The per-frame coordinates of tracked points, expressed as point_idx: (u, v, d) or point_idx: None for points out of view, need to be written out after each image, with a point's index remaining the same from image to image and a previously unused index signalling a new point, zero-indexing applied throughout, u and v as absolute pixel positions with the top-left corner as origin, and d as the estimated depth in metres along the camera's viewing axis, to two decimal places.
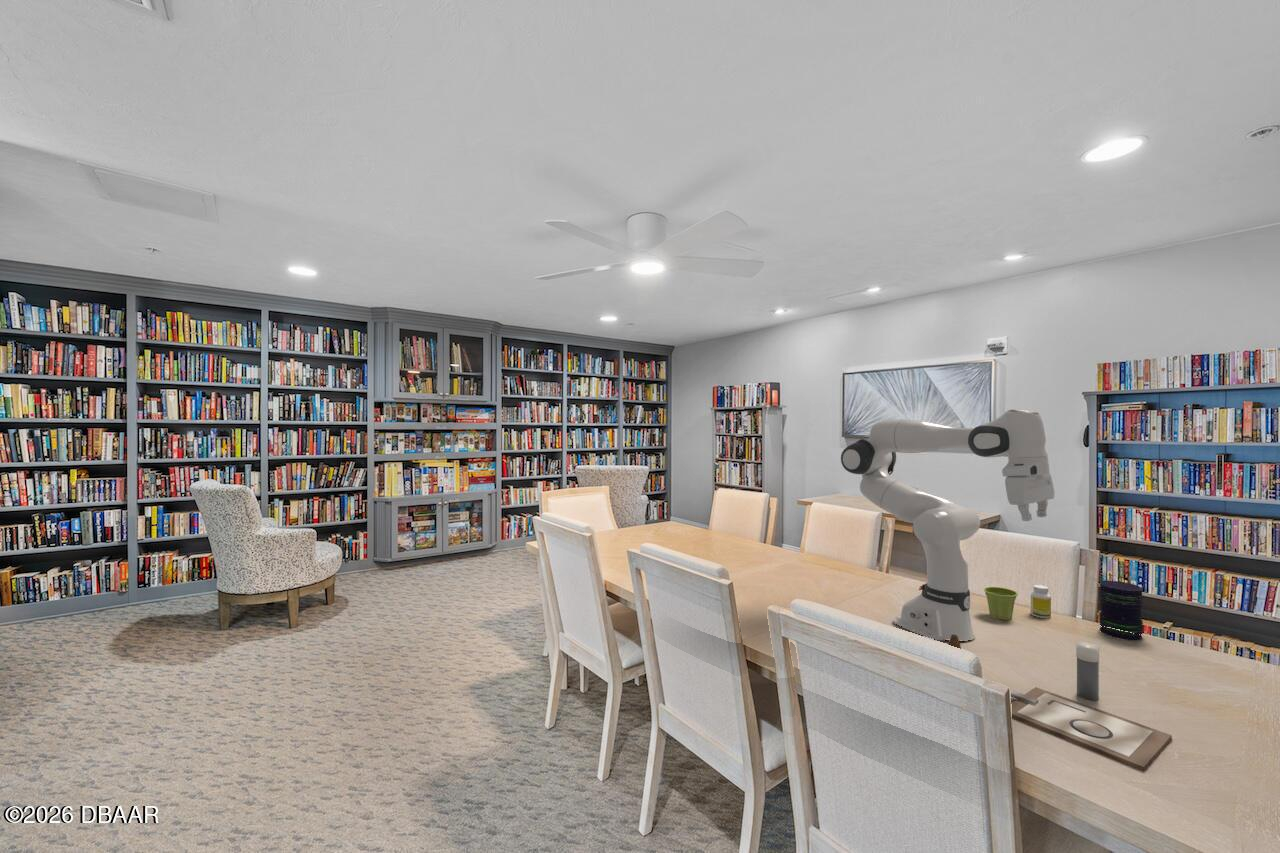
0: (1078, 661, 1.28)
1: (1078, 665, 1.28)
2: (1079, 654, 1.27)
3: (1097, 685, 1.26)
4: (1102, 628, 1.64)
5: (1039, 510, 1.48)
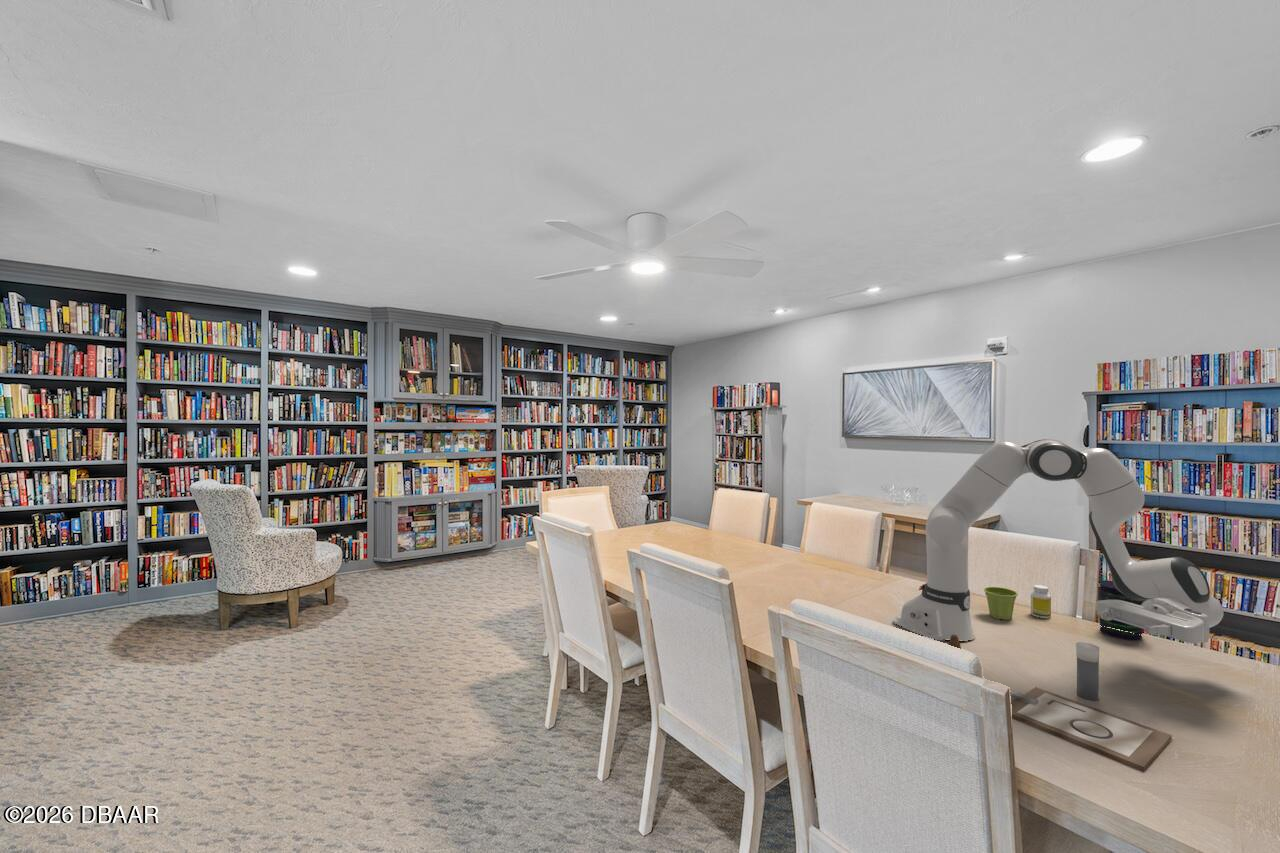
0: (1078, 661, 1.28)
1: (1078, 665, 1.28)
2: (1079, 654, 1.27)
3: (1097, 685, 1.26)
4: (1102, 628, 1.64)
5: None
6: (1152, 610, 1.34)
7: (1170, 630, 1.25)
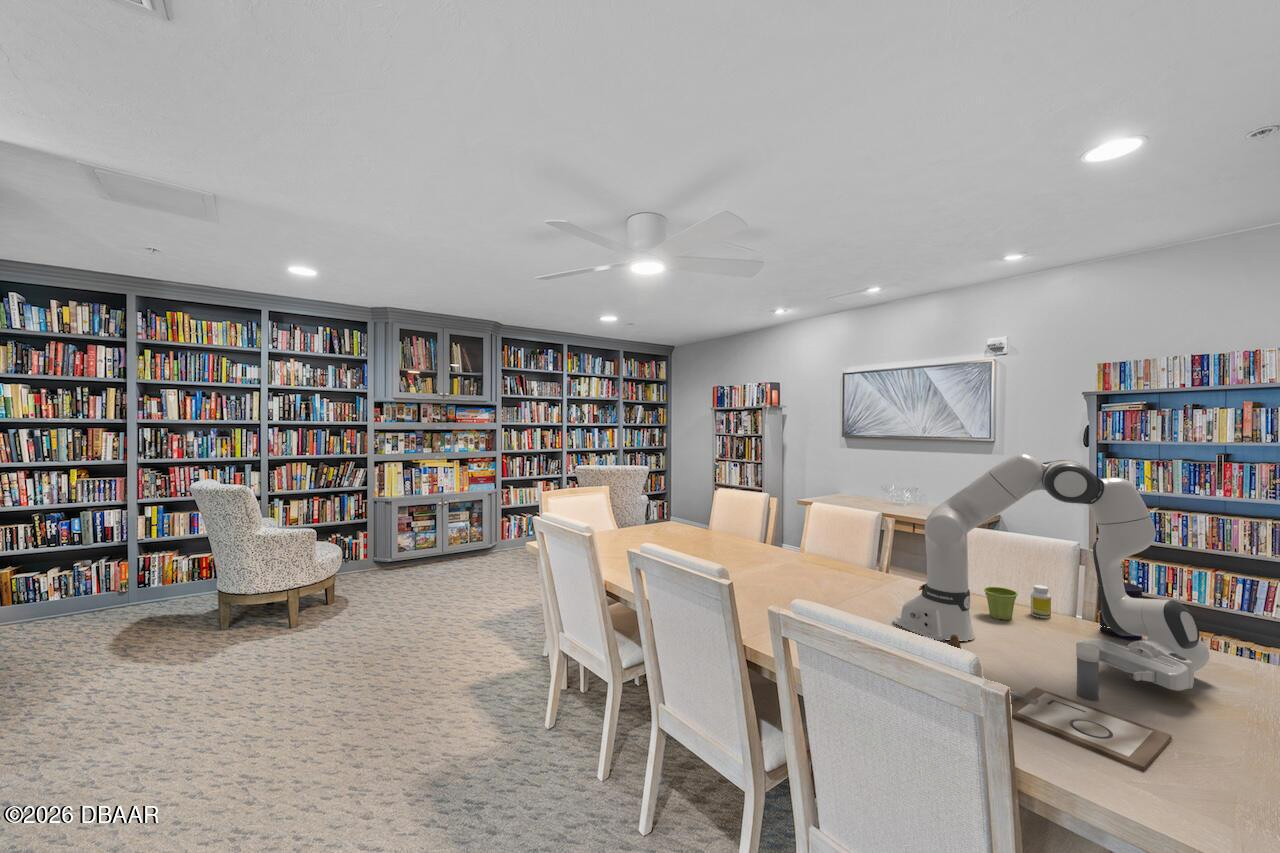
0: (1078, 661, 1.28)
1: (1078, 665, 1.28)
2: (1079, 654, 1.27)
3: (1097, 685, 1.26)
4: (1102, 628, 1.64)
5: None
6: (1137, 653, 1.33)
7: (1154, 676, 1.24)
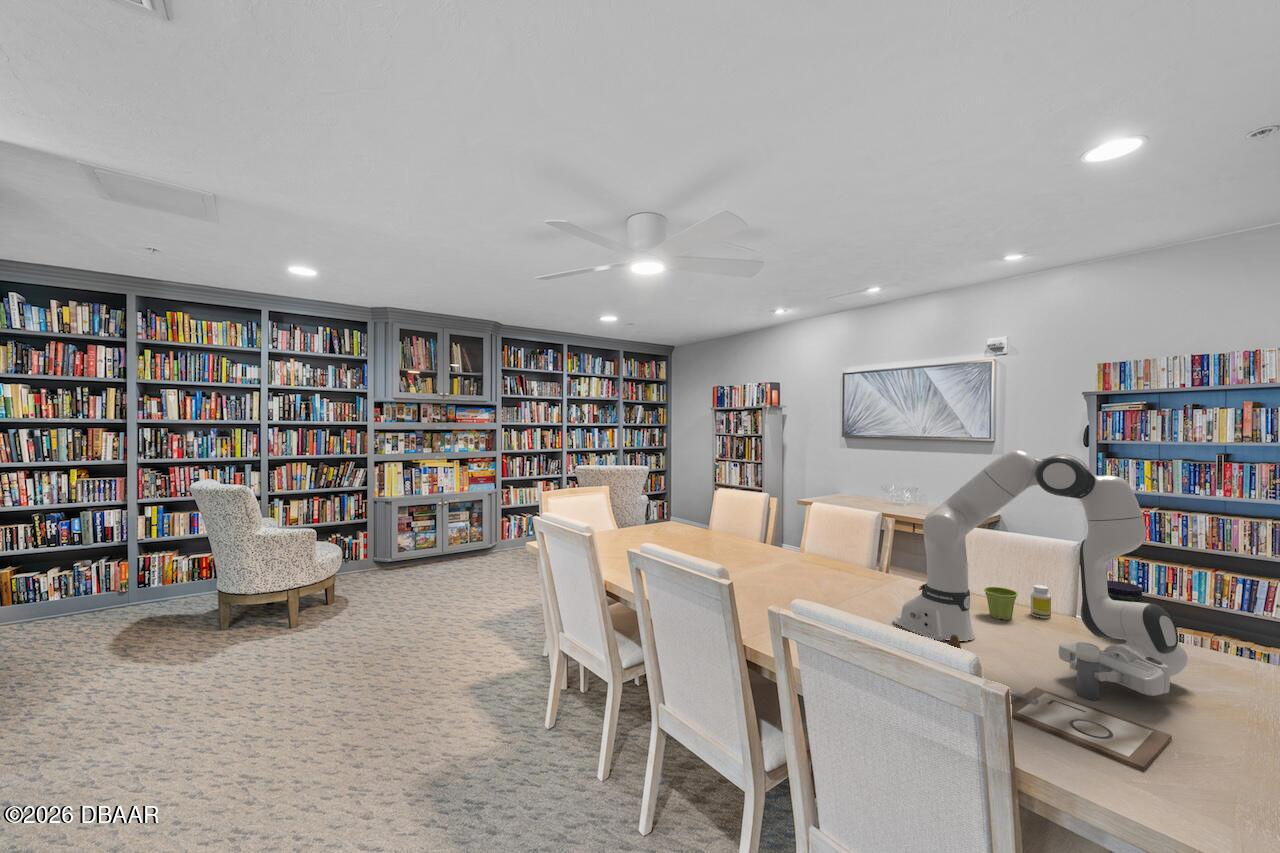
0: (1078, 661, 1.28)
1: (1078, 665, 1.28)
2: (1079, 654, 1.27)
3: (1097, 685, 1.26)
4: None
5: None
6: (1114, 657, 1.30)
7: (1119, 677, 1.24)
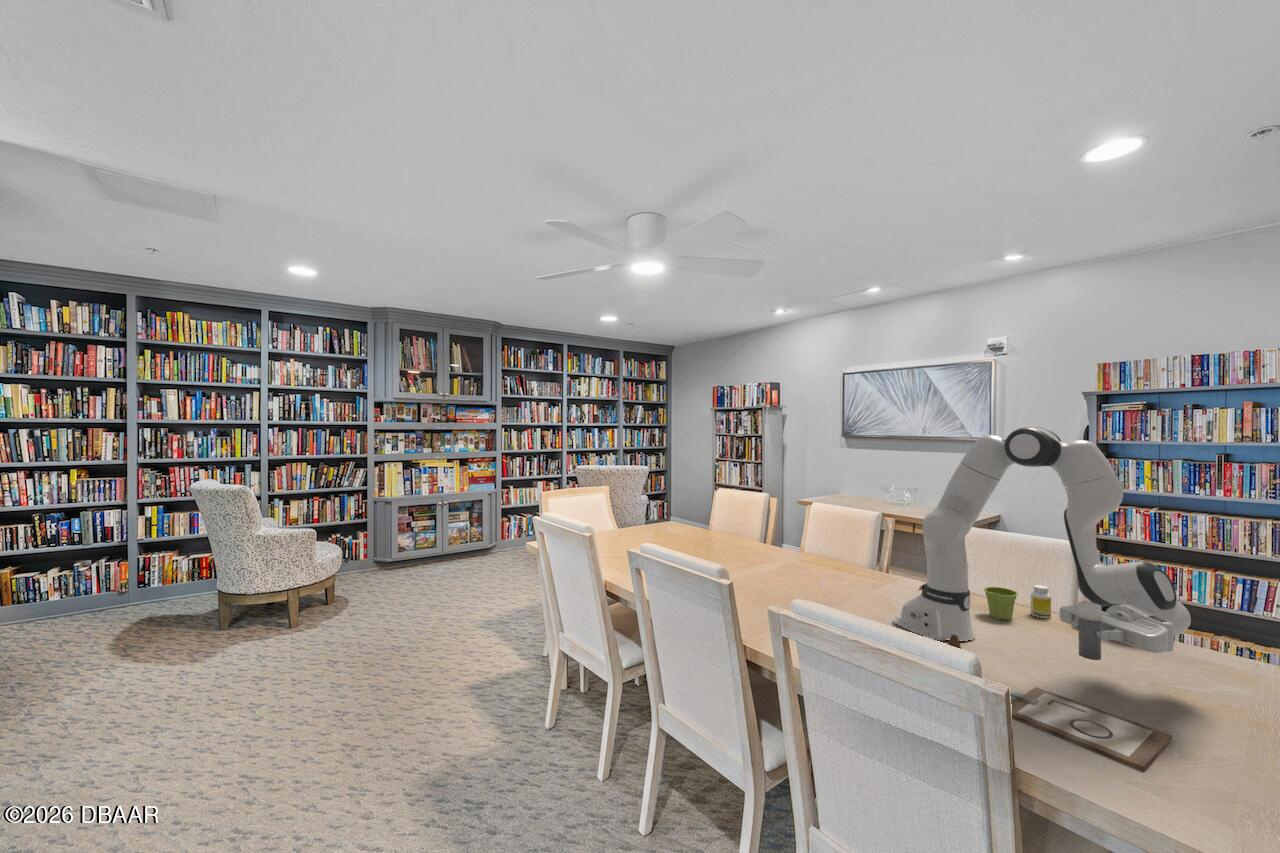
0: (1080, 620, 1.24)
1: (1080, 624, 1.24)
2: (1081, 613, 1.24)
3: (1099, 644, 1.22)
4: None
5: None
6: (1116, 617, 1.27)
7: (1122, 635, 1.21)
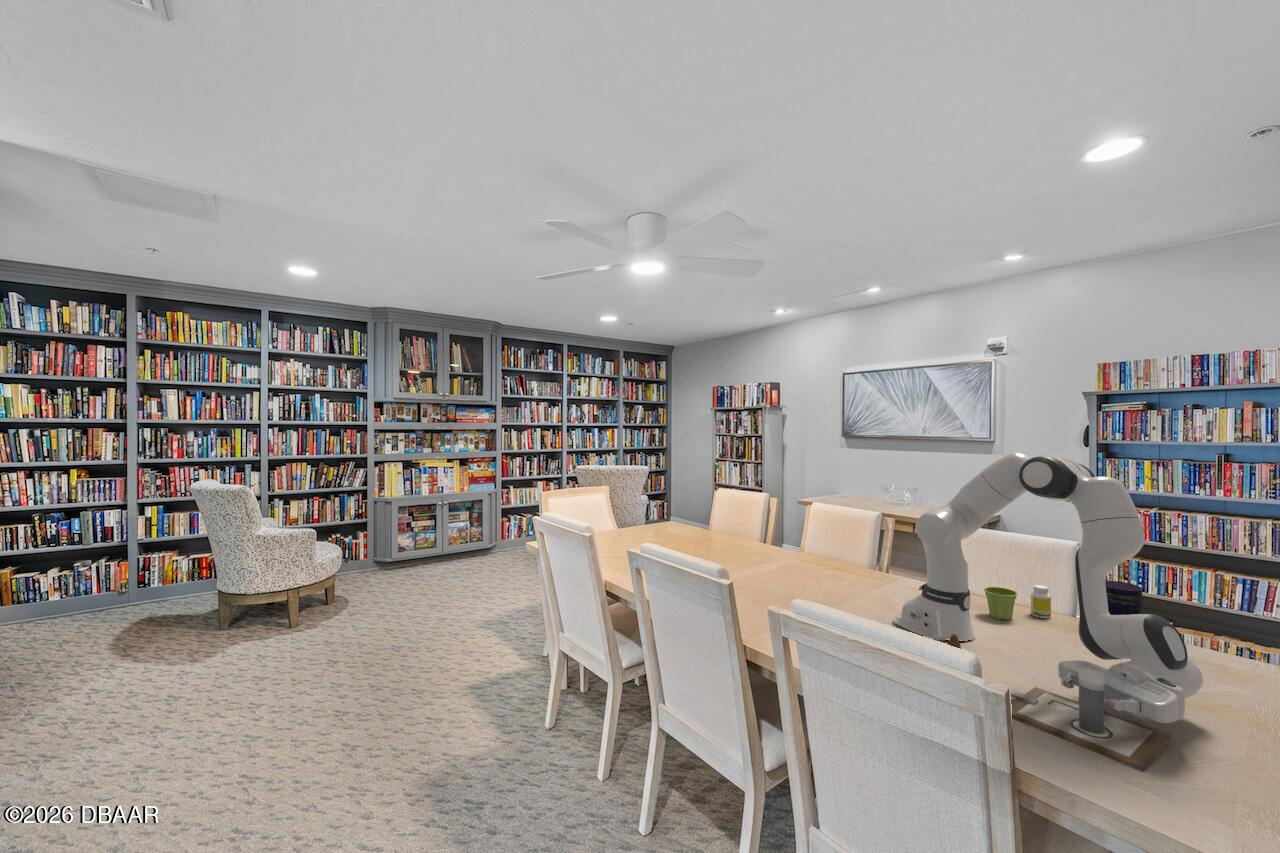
0: (1080, 689, 1.13)
1: (1080, 693, 1.13)
2: (1082, 681, 1.12)
3: (1102, 717, 1.11)
4: None
5: None
6: (1120, 677, 1.15)
7: (1139, 706, 1.07)
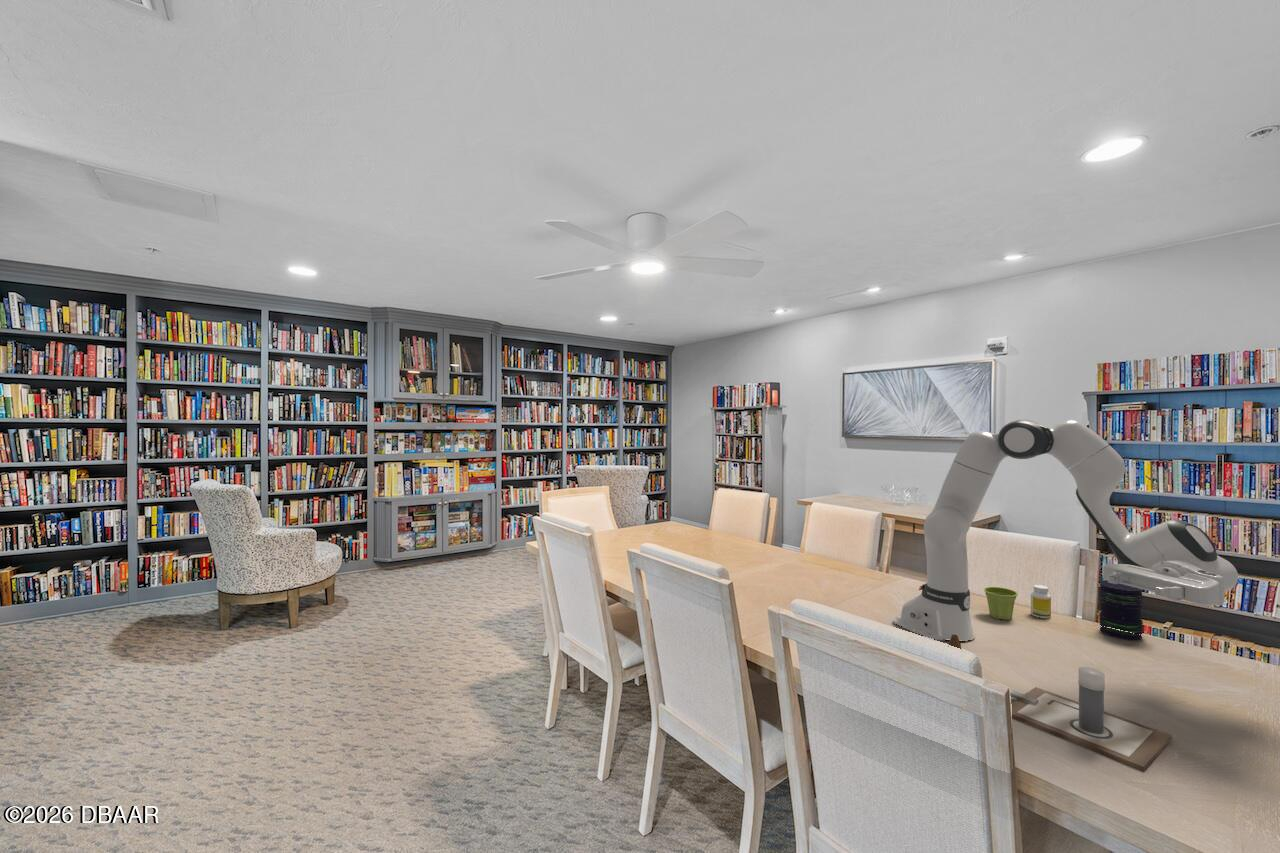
0: (1080, 689, 1.13)
1: (1080, 693, 1.13)
2: (1082, 681, 1.12)
3: (1102, 716, 1.11)
4: (1102, 628, 1.64)
5: None
6: (1163, 573, 1.25)
7: (1183, 592, 1.17)
